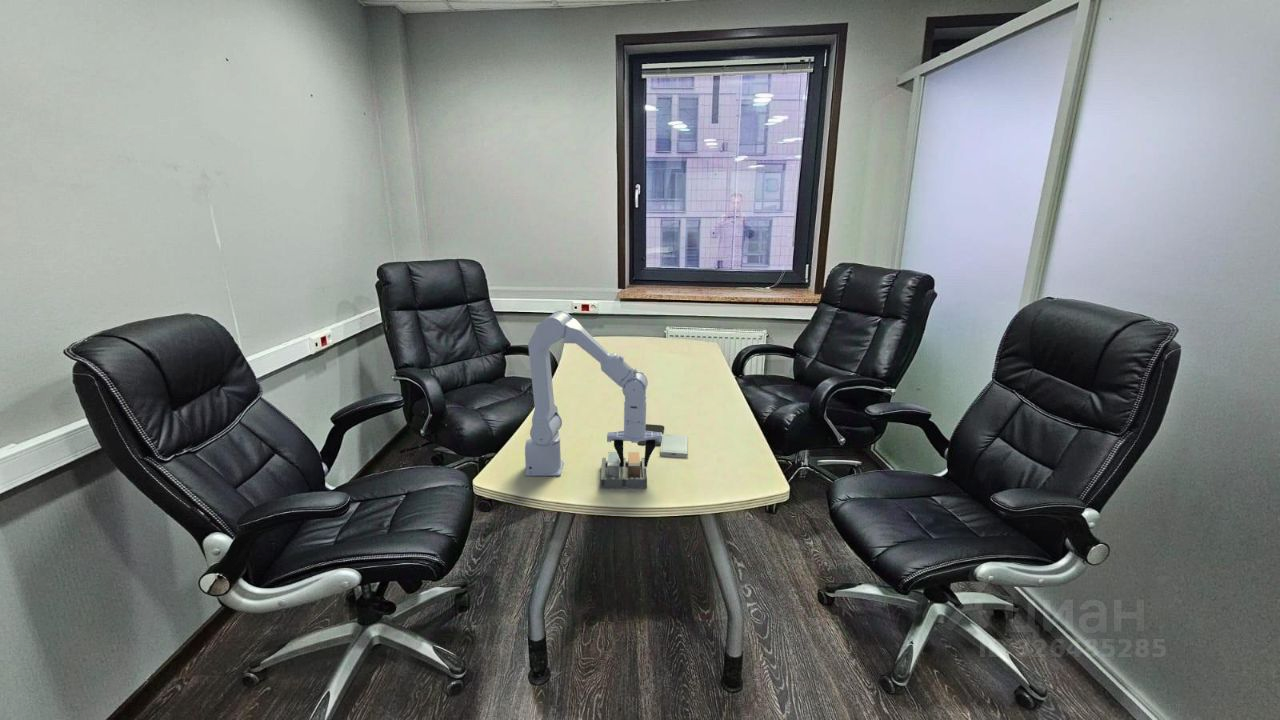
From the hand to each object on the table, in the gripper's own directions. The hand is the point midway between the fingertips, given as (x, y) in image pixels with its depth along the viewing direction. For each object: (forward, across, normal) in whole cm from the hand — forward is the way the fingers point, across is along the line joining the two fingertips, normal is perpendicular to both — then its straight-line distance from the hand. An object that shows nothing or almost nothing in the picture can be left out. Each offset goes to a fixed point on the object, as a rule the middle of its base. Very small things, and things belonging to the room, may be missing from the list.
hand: (634, 465), depth 141 cm
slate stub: (+3, -6, +1) cm, 6 cm away
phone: (+4, +6, +26) cm, 27 cm away
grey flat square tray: (+3, -3, 0) cm, 4 cm away
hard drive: (+4, +13, +18) cm, 22 cm away
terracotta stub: (+3, 0, 0) cm, 3 cm away
